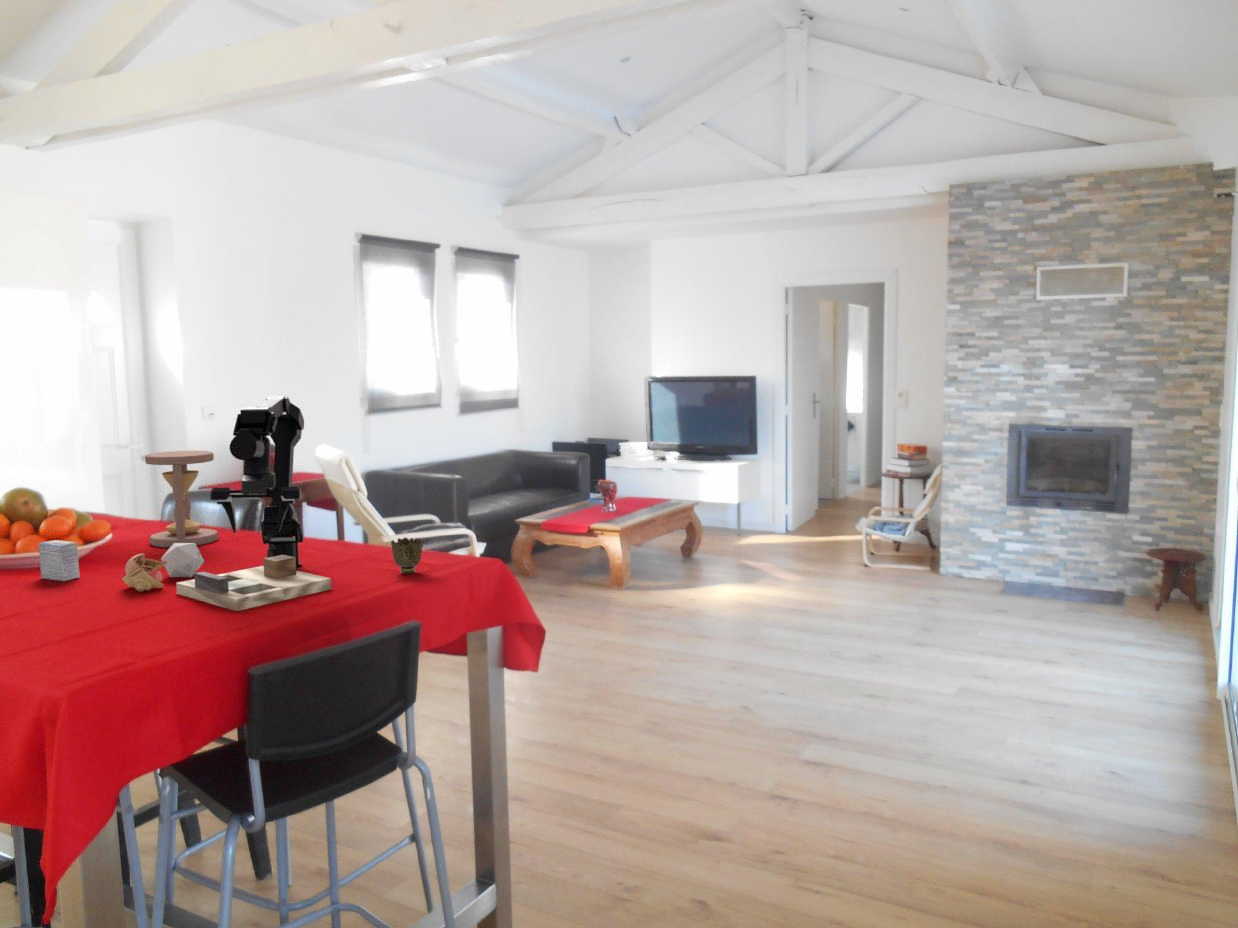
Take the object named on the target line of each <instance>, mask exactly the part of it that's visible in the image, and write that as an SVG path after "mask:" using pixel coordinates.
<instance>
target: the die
mask: <svg viewBox="0 0 1238 928" xmlns="http://www.w3.org/2000/svg"><path fill="white" fill-rule="evenodd" d="M160 561H161V562H163V561H166V562H167V564H165V565H164V566H163V567H164V568H165V570H166V572H167V574H168V575H169V577H170V578H192V577H194V573H197V572H198V570H199V569H200V568H201V566H203V564H204V563H205V559H204V558H203V556H202V553H201V551H200V550H199V548H198V545H196V544H195V543H174V544H173V545H172V546H171V547H168V550H166V552H164V554H163V555H162V557H161V558H160Z"/></svg>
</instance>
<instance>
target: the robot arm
mask: <svg viewBox="0 0 1238 928" xmlns="http://www.w3.org/2000/svg"><path fill="white" fill-rule="evenodd" d="M304 428H305V419H304V415H303V413H302V411H301V408H300V407H298V406H296V405H295V404H293V403H292V402H291V401H290V398H289V397H288V396H285V395H282V396H281V395H280V396H279V395H278V396H277V395H276V396H275V395H271V396H268V397H266V398H265V400H264V401H263V402H261V403H260V404H259V405H257V406H253V407H252V406H251V407H249V406H247V407H242V408H241V409H240V411H239V412H238V414H237V415H236V421H235V425H234V428H233V433H232V435H233V436H234V437H233V438H232V440H231V441H230V444H229V451H230V453H231V455H232V457H234V458H235V459H237V460H240V461H242V462H243V463H242V464H243V465H242V470H243V471H242V477H241V489H238V490H237V489H233V488H232V487H229V486H228V487H213V488H211V489H210V501H217V502H216V504H217V505H222V508H223V509H224V510H225V512H226V514H227V517H228V521H229V523H230V526H231V529H232V531H233V534H237V521H236V519H237V518H236V509H235V502H234V501H232V500H233V499H248V498H250V499H254V498H255V499H256V498H263V499H264V498H266V499H267V498H271V502H270V503H269V504H268V505H267V506H265V507H264V509H263V518H262V520H261V523H260V531H261V537H262V543H263V545H268V549H267V550H266V552H267V558H268V557H273V556H279V555H287V556H291V557H296V568H298V567H302V566H303V563H301V562H299V561H300V560H299V543H303V542H304V533H303V529H302V525H301V523H300V520H299V518H298V513H297V511H296V509H295V508H294V506H293V505H292V504H296V500H302V489H301V488H300V487H298V486H293V474H294V457H295V456H294V454H295V451H294V450H295V447H296V445H297V444H298V443H299V441H300V440H301V439H302V432H303V430H304ZM269 437H270V438H271V440H272V442H273V443H274V455H273V472H271V440H270V439H269Z"/></svg>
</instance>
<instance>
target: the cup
mask: <svg viewBox="0 0 1238 928" xmlns="http://www.w3.org/2000/svg"><path fill="white" fill-rule="evenodd" d="M390 544H391V553H392V557H393V561H394V563H395V565H397V567H400V568H399V571H400V573H401V574H403V575H411V574H414V573H415V572H416V567H417V566H418V565H419V563H420V561H421V559H422V551H423V539H420V538H418V537H416V538H415V539H414V537H410V539H409V538H407V537H406V536H405V537H403V538H402V539H401V538H400V537H398V538H397V542H396V541H395V540H394V539H392V540H391V541H390Z"/></svg>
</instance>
